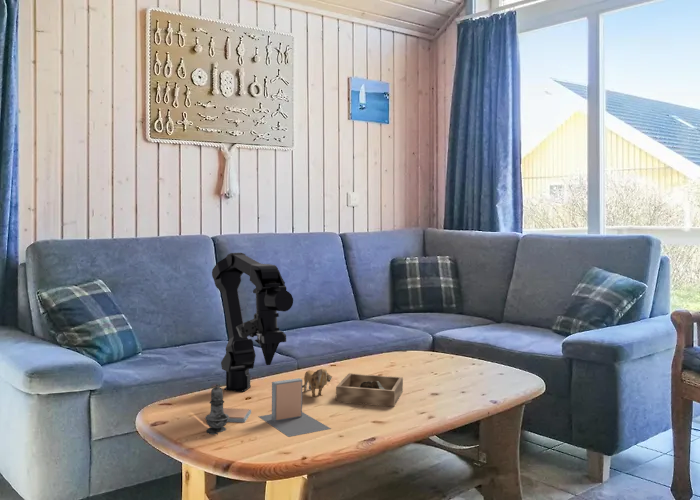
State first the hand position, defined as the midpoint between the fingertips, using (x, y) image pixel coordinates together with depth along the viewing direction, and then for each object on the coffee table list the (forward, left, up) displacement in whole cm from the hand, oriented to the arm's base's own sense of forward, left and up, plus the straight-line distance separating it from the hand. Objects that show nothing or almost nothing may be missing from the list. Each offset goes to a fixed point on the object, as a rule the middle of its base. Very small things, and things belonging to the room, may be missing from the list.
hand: (268, 364), depth 188 cm
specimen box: (+26, +16, -11) cm, 33 cm away
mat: (+12, -14, -11) cm, 22 cm away
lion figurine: (+10, +13, -12) cm, 20 cm away
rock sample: (+27, +17, -12) cm, 34 cm away
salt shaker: (-5, -24, -12) cm, 27 cm away
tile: (+9, -11, -11) cm, 18 cm away
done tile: (-6, -14, -12) cm, 19 cm away
